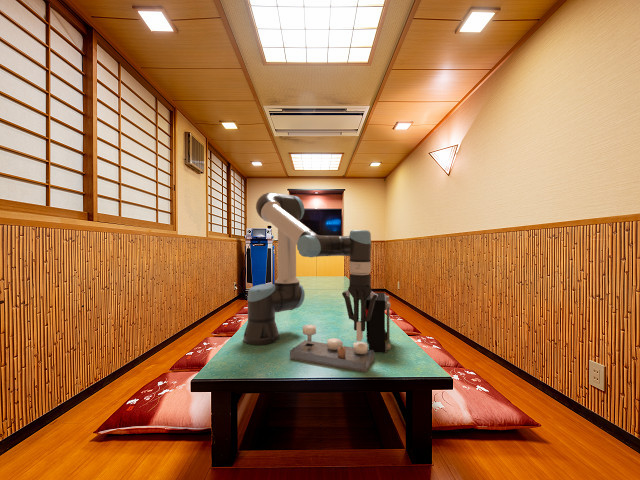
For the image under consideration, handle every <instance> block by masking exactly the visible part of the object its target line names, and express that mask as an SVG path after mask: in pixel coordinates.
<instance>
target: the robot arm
mask: <svg viewBox="0 0 640 480" xmlns="http://www.w3.org/2000/svg"><path fill="white" fill-rule="evenodd" d="M255 210H256V213H257V215H258V216H259V217H260V218H261V219H262V220H263V221H264V222H267V223H271V224H272V225H273V226H274V227H275V228H276V229H277V279H275V281H274V284H273V283H262V284H258V285H253V286H252V287H250V288H249V289H248V292H247V300H246V301H247V324H246V325H245V327H246V328H245V330H244V333H243V342H244V343H245V344H248V345H254V346H259V345H268V344H269V345H270V344H273V343H275V342H277V341H279V340H280V332H279V330H278V326H277V322H276V313H281V312H285V311H286V312H287V311H292V310H295V309H298V308H300V307H301V306H302V305H303V303H304V302H305V296H306V294H305V290H304V287H303V285H301V284H300V280H299V279H298V277H297V251H298V254H299V255H300V256H302V257H303V258H317V257H339V256H341V257H349V273H350V274H349V278H348V279H349V281H348V283H349V285H348V287H347V290H344V291H343V292H342V293H341V294H342V297H343V298H344V302H345V307H346V311H347V315H348V319H349V320H352V321H353V330H354V331H356V342H362V341H363V339H364V337H363V336H364V335H363V334H364V333H363V332H365V331H366V321H369V320H370V319H371V316H372V312H373V308H374V304H375V300H376V299H377V297H378V294H375V293H376V292H374V291H373V288H372V287H371V286H372V284H371V283H372V281H371V280H372V279H371V278H372V276H371V271H372V259H371V257H372V255H371V254H372V236H371V235H372V234H371V232H370V230H367V229H363V230H362V229H361V230H359V229H357V230H356V229H354V230H353V229H352V230H350V231H349V235H319V234H317V233H316V232H314V231H313V230H311V229H310V228H309V227H308V226H306V224H304V223H302V222H301V221H300V220H301V219H303V217H304V214H305V205H304V202H303V201H302V200H301V198H300V197H299V196H296V195H291V194H284V193H279V192H278V193H275V192H266V193H264V194H262V195H261V196H260V197H259V198H257V201H256V204H255ZM370 294H371V296H370V297H371V301H370V305H369V309H368V313H367V317H366V299H367V298H368V296H369V295H370ZM350 296H351V297H352V300H353V305H352V301H351V297H350ZM359 316H360V318H359Z"/></svg>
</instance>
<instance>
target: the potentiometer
mask: <svg viewBox="0 0 640 480" xmlns="http://www.w3.org/2000/svg"><path fill="white" fill-rule="evenodd" d="M343 346H344V341H341V342H340V347H338V357H339V358H345V347H343Z"/></svg>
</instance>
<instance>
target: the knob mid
mask: <svg viewBox="0 0 640 480" xmlns="http://www.w3.org/2000/svg"><path fill="white" fill-rule="evenodd" d="M326 341H327V342H326V343H327V348H328V349H331V350H337V349H338V347H340V342H341V339H339V338H338V337H337V338H336V337H334V338H333V337H331V338H328V339H326Z"/></svg>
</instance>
